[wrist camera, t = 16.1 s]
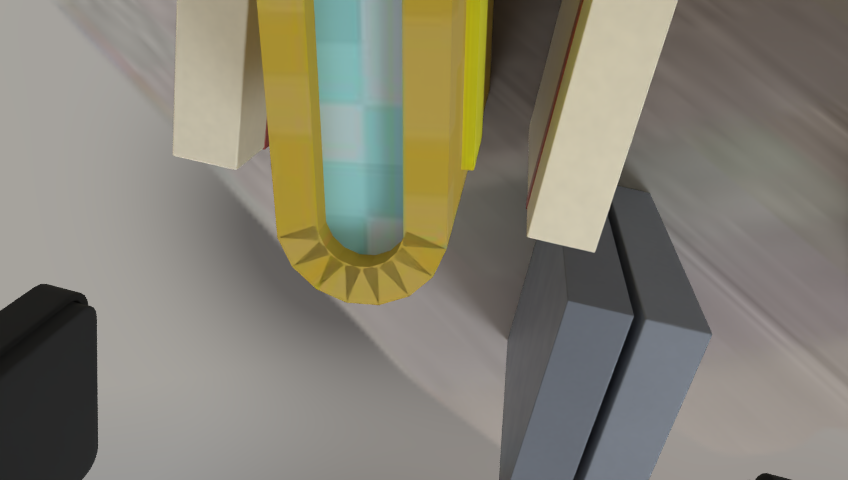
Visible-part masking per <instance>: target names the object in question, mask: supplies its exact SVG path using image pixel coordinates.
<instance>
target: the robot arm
mask: <svg viewBox="0 0 848 480" xmlns="http://www.w3.org/2000/svg"><path fill="white" fill-rule="evenodd" d="M97 406H98V404H97V316H96V311H95V309H94V308H93V307H91V306H88V301H87V299H86V297H85V295H83V294H81V293H78V292H75V291H71V290H67V289H63V288H59V287H55V286H52V285H48V284H40V285H38V286H36V287H34V288H32V289H31V290H30V291H28V292H27V293H25V294H24V295H22V296H21V297H20V298H18V299H17V300H15V301H14V302H12V303H11V304H9V305H8V306H7V307H5V308H4V309H2V310H1V311H0V480H82V479H83V478H84V477H85V475H86V474H87V473H88V471H89V470H90V469H91V467H92V465H93V463H94V460H95V458H96V455H97V449H98V412H97V411H98V407H97ZM756 480H790V479H787V478H783V477H779V476H775V475H771V474H767V473H764V474H761V475H760V476H758V477H757V478H756Z"/></svg>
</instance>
